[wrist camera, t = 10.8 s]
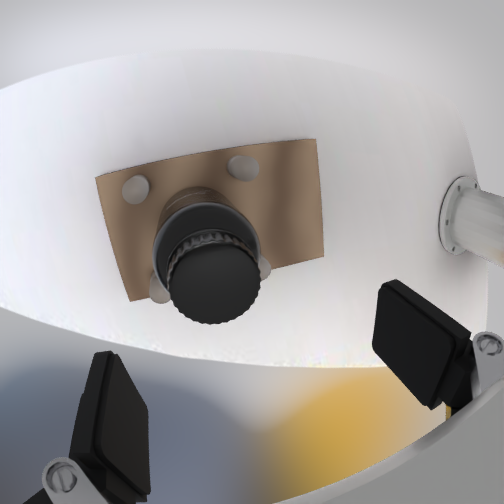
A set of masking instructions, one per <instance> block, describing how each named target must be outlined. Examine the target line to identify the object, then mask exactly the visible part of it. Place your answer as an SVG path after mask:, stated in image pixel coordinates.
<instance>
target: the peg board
mask: <svg viewBox="0 0 504 504" xmlns="http://www.w3.org/2000/svg"><path fill="white" fill-rule="evenodd" d="M95 179H96V184H97V189H98V193H99V198H100V202H101V206H102V211H103V215H104V219H105V223H106V226H107V230H108V234H109V238H110V241H111V245H112V248H113V252H114V255H115V258H116V261H117V265H118V268H119V271H120V274H121V277H122V280H123V283H124V286H125V289H126V292H127V295H128V298H129V300H130V302H131V301H136V300H141V299H145V298H151V299H152V300H153V301H154V302H156V303H159V304H163V303H167V302H168V301H169V300H170V294H169V293H168V292H167V291H166V290H165V289H164V288H163V287H162V285H161V284H160V283H159V281H158V279H157V277H156V275H155V272H154V268H153V263H152V249H153V243H154V238H155V234H156V229H157V225H158V221H159V217H160V214H161V211H162V209H163V207H164V206H165V204H166V203H167V201H168V200H169V199H170V198H171V197H172V196H173V195H175V194H176V193H177V192H179V191H181V190H183V189H186V188H189V187H195V186H201V187H208V188H211V189H214V190H216V191H218V192H220V193H221V194H223V195H224V196H225V197H226V198H227V199H228V200H229V201H230V202H231V203H232V204H233V205H234V206H235V207H236V208H237V209H238V210H239V211H240V212H241V213H242V214H243V215H244V216H245V217H246V218H247V219H248V220H249V221H250V223H251V224H252V226H253V227H254V229H255V231H256V233H257V235H258V238H259V242H260V247H261V260H260V265H259V269H260V271H261V272H260V277H261V281H262V280H264V279H266V278H267V277H268V276H269V275H270V273H271V269H276V268H280V267H284V266H288V265H292V264H296V263H300V262H304V261H308V260H312V259H316V258H320V257H324V246H323V223H322V206H321V191H320V178H319V166H318V155H317V145H316V139H303V140H291V141H281V142H272V143H263V144H255V145H247V146H240V147H233V148H226V149H220V150H214V151H208V152H202V153H197V154H191V155H186V156H181V157H176V158H171V159H166V160H162V161H157V162H153V163H148V164H144V165H140V166H136V167H131V168H127V169H124V170H120V171H116V172H112V173H109V174H105V175H101V176H98V177H96V178H95Z"/></svg>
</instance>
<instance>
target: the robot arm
mask: <svg viewBox="0 0 504 504" xmlns="http://www.w3.org/2000/svg"><path fill="white" fill-rule="evenodd" d="M440 238H441V242H442V244H443V247H444V248H445V249H446V251H448V252H450V253H451V254H454V255H459V254H462V253H463V252H465V251H466V250H468V251H470V252H472V253H474V254H476V255H478V256H480V257H482V258H484V259H486V260H488V261H490V262H492V263H494V264H496V265H498V266H500V267H502V268H504V197H501V196H498V195H495V194H492V193H488V192H485V191H481V189H480V186H479V185H478V183H477V182H476V181H475V179H473V178H471V177H466V176H464V177H460V178H458V179H457V180H456V181H455V182H454V183H453V184H452V185H451V187H450V188H449V190H448V192H447V194H446V196H445V199H444V202H443V205H442V209H441V215H440ZM470 336H471V332H470V331H469V330H467V329H466V328H465V327H463V326H462V325H461V324H459V323H458V322H457V321H455V320H454V319H453V318H451V317H450V316H449V315H447V314H446V313H444V312H443V311H442V310H440V309H439V308H438V307H436V306H435V305H433V304H432V303H431V302H429V301H428V300H426V299H425V298H423V297H422V296H421V295H419V294H418V293H416V292H415V291H413V290H412V289H411V288H409V287H408V286H406V285H405V284H403V283H402V282H400V281H399V280H397V279H394V280H392V281H389V282H386V283H383V284H382V286H381V288H380V289H379V291H378V300H377V309H376V318H375V326H374V333H373V340H372V347H373V350H374V352H375V353H376V354H377V355H378V356H379V357H380V358H381V359H382V361H383V362H384V363H385V364H386V365H387V366H388V367H389V368H390V369H391V370H392V371H393V373H394V374H395V375H396V376H397V377H398V378H399V379H400V380H401V381H402V383H403V384H404V385H405V386H406V387H407V388H408V389H409V390H410V391H411V393H412V394H413V395H414V396H415V397H416V398H417V399H418V400H419V402H420V403H421V404H422V405H424V406H428V407H429V409H430V410H433V409H434V408H436V407H437V406H439V405H440V404H441V403H442V401H443V402H444V403H445V404H446V421H445V422H443V423H442V424H441V425H439V426H438V427H437V428H435V429H433V430H432V431H431V432H429V433H428V434H426V435H425V436H423V437H422V438H420V439H418V440H417V441H415V442H414V443H412V444H410V445H409V446H407V447H405V448H404V449H402V450H400V451H399V452H397V453H395V454H393V455H392V456H390V457H388V458H386V459H384V460H382V461H380V462H378V463H377V464H374V465H373V466H371V467H369V468H367V469H364V470H363V471H360V472H358V473H356V474H354V475H352V476H349V477H347V478H345V479H343V480H340V481H338V482H336V483H333V484H330V485H328V486H325V487H323V488H320V489H318V490H315V491H312V492H309V493H306V494H303V495H300V496H297V497H294V498H291V499H288V500H284V501H281V502H277V503H274V504H504V340H503V339H502V338H501V337H500V336H498V335H497V334H494V333H492V332H480V333H478V334H476V335H475V336H474V338H473V341H471V340H470V339H469V338H470ZM149 471H150V470H149V442H148V409H147V406H146V404H145V402H144V401H143V399H142V397H141V396H140V394H139V392H138V390H137V389H136V387H135V385H134V383H133V382H132V380H131V378H130V376H129V374H128V372H127V370H126V368H125V367H124V365H123V363H122V361H121V359H120V357H119V356H118V354H114V353H113V352H112V351H104V352H97V353H95V354H94V357H93V360H92V364H91V367H90V371H89V375H88V379H87V382H86V387H85V390H84V393H83V394H82V396H81V399H80V403H79V407H78V412H77V416H76V421H75V425H74V431H73V435H72V441H71V447H70V453H69V458H64V457H62V458H56V459H54V460H52V461H51V462H49V463H48V464H47V465H46V467H45V469H44V470H43V474H42V483H43V486H44V488H43V489H42V490H40V491H39V492H38V493H36V494H35V495H34V496H32V497H31V498H30V499H28V500H27V501H26V502H24V503H23V504H136V502H147V495H149V494H150V492H151V487H150V472H149Z"/></svg>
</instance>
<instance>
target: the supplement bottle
mask: <svg viewBox="0 0 504 504" xmlns="http://www.w3.org/2000/svg"><path fill="white" fill-rule="evenodd" d="M260 260H261V247H260V242H259V238H258V235H257V233H256V231H255V229H254V227H253V226H252V224H251V223H250V221H249V220H248V219H247V218H246V217H245V216H244V215H243V214H242V213H241V212H240V211H239V210H238V209H237V208H236V207H235V206H234V205H233V204H232V203H231V202H230V201H229V200H228V199H227V198H226V197H225V196H224V195H223V194H221V193H220V192H218V191H216V190H214V189H211V188H208V187H201V186H195V187H189V188H186V189H183V190H181V191H179V192H177V193H176V194H175V195H173V196H172V197H171V198H170V199H169V200H168V201H167V203H166V204H165V206H164V207H163V209H162V211H161V214H160V217H159V221H158V225H157V229H156V234H155V238H154V243H153V249H152V263H153V268H154V272H155V275H156V277H157V279H158V281H159V283H160V284H161V285H162V287H163V288H164V289H165V290H166V291H167V292H168V293H169V294H170V299H171V300H172V301H173V304H174V306H175V307H177V308H178V310H179V312H180V313H183V314H184V315H185V317H187V318H190V319H191V320H193V321H197V322H199V323H201V324H204V323H207V324H209V325H211V324H220V323H222V322H228V321H230V320H234V319H236V318H237V317H238V316H241V315H243V314H244V312H245V311H247V310H249V308H250V306H251V305H252V304H253V303H254V301H255V298H256V297H257V296H258V291H259V290H260V288H261V287H260V282H261V277H260V272H261V271H260V269H259V265H260Z"/></svg>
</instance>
